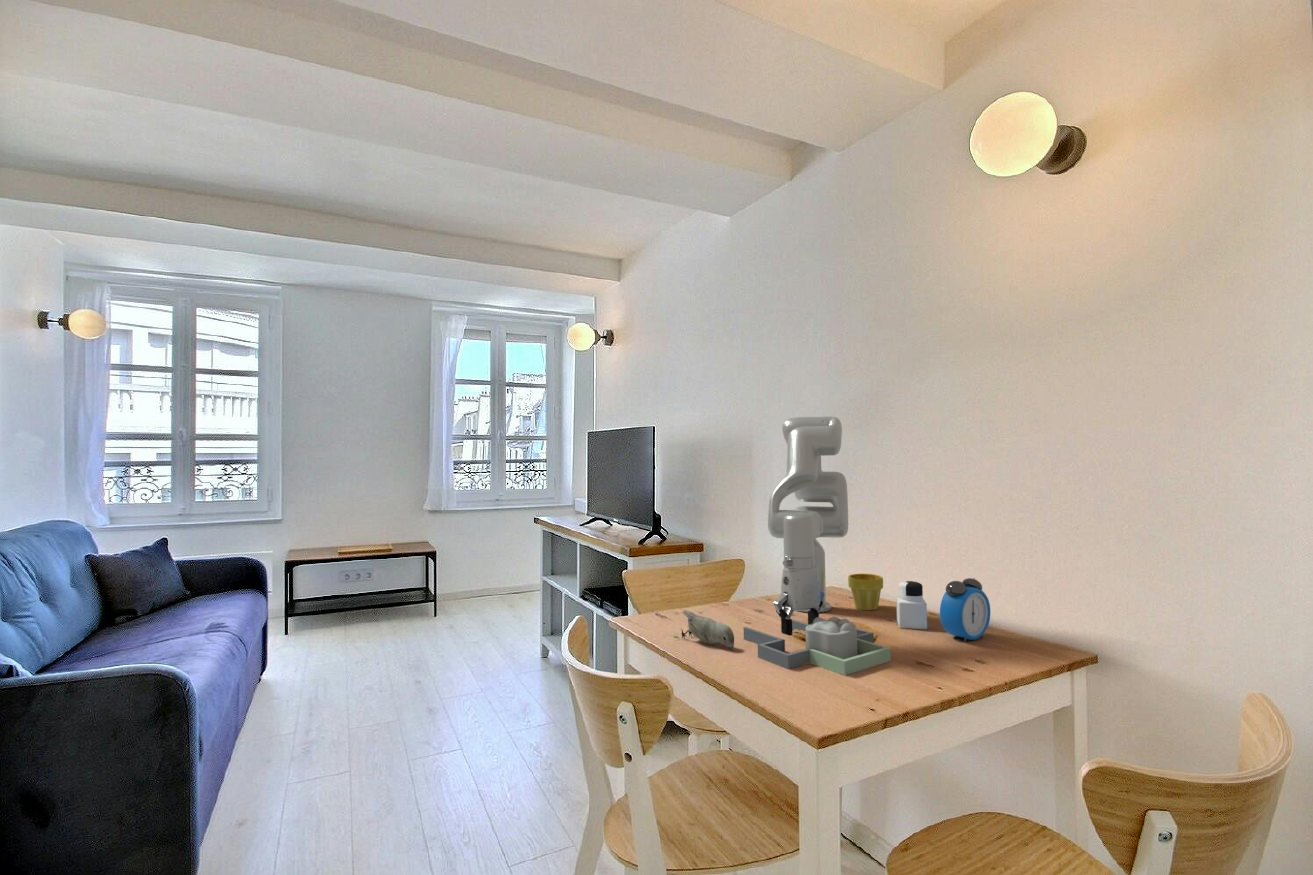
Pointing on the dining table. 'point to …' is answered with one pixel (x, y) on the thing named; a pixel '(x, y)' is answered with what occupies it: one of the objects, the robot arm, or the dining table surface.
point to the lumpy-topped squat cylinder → (832, 637)
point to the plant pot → (865, 590)
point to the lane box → (775, 652)
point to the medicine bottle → (911, 606)
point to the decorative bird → (708, 630)
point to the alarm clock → (965, 609)
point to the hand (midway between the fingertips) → (800, 630)
